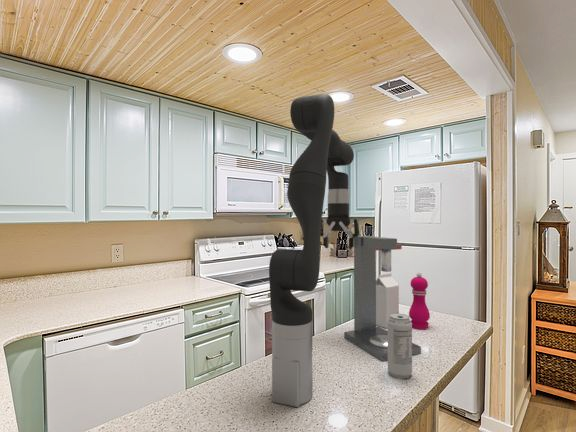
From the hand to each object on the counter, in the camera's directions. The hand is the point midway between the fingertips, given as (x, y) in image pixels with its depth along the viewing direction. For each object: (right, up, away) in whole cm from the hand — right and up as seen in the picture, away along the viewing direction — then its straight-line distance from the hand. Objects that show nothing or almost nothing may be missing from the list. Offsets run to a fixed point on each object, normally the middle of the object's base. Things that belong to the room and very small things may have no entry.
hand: (338, 248), depth 119 cm
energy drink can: (+11, -30, -32) cm, 45 cm away
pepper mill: (+31, -30, +6) cm, 43 cm away
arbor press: (+15, -30, -11) cm, 35 cm away
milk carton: (+19, -30, +8) cm, 36 cm away
